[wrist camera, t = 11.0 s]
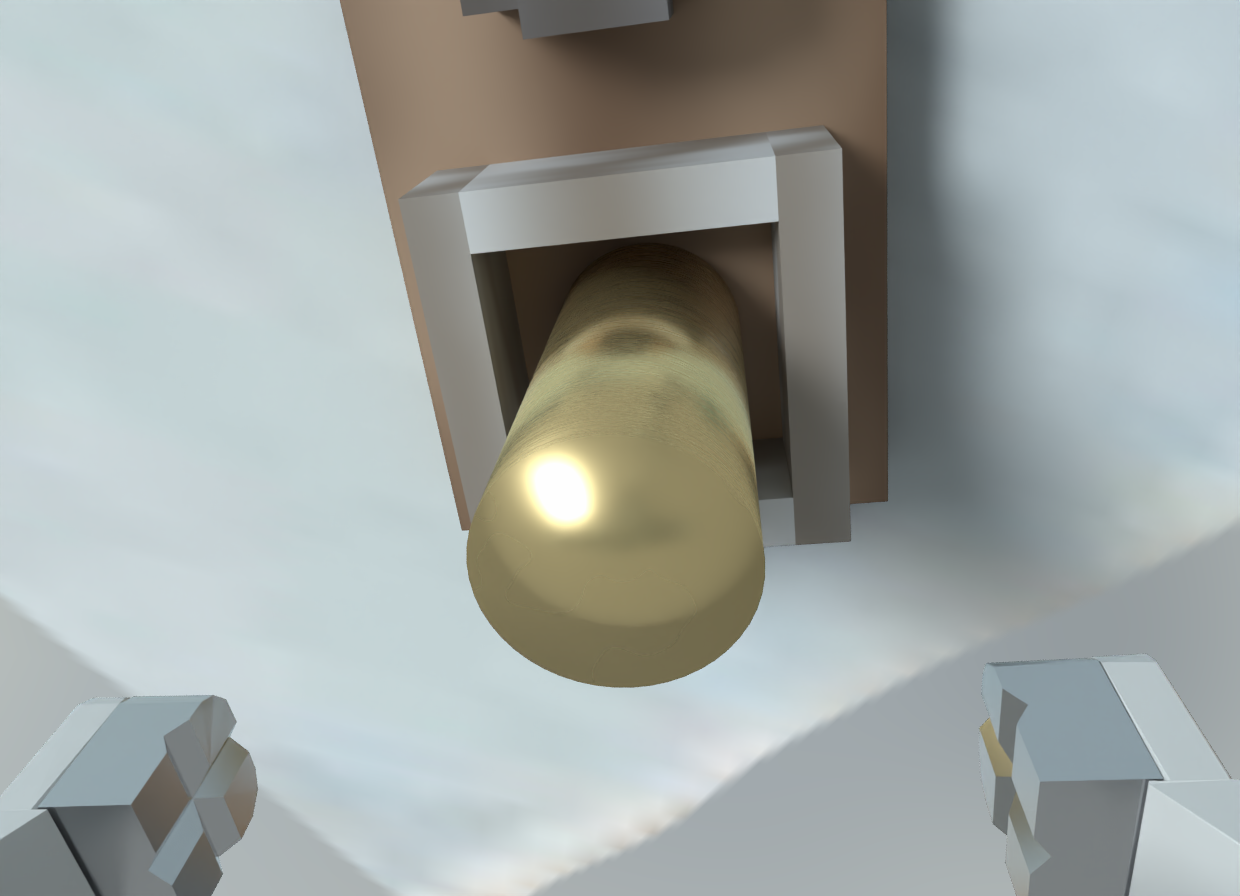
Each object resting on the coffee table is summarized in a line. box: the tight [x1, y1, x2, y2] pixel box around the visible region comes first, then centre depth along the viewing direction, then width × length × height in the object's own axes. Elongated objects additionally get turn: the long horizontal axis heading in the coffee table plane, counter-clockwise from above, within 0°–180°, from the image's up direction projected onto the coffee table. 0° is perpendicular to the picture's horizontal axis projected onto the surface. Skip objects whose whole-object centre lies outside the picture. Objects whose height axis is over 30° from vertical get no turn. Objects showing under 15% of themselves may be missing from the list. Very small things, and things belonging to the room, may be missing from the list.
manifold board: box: [340, 0, 888, 547], centre depth 20 cm, size 11×19×5 cm, turn 7°
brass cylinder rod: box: [467, 243, 765, 687], centre depth 18 cm, size 4×4×10 cm
